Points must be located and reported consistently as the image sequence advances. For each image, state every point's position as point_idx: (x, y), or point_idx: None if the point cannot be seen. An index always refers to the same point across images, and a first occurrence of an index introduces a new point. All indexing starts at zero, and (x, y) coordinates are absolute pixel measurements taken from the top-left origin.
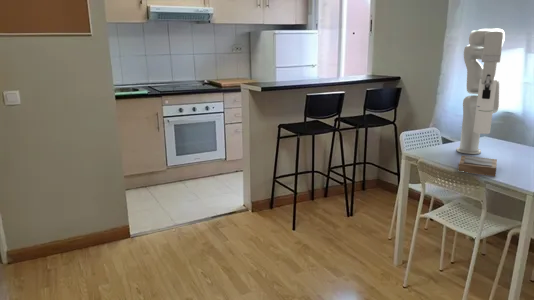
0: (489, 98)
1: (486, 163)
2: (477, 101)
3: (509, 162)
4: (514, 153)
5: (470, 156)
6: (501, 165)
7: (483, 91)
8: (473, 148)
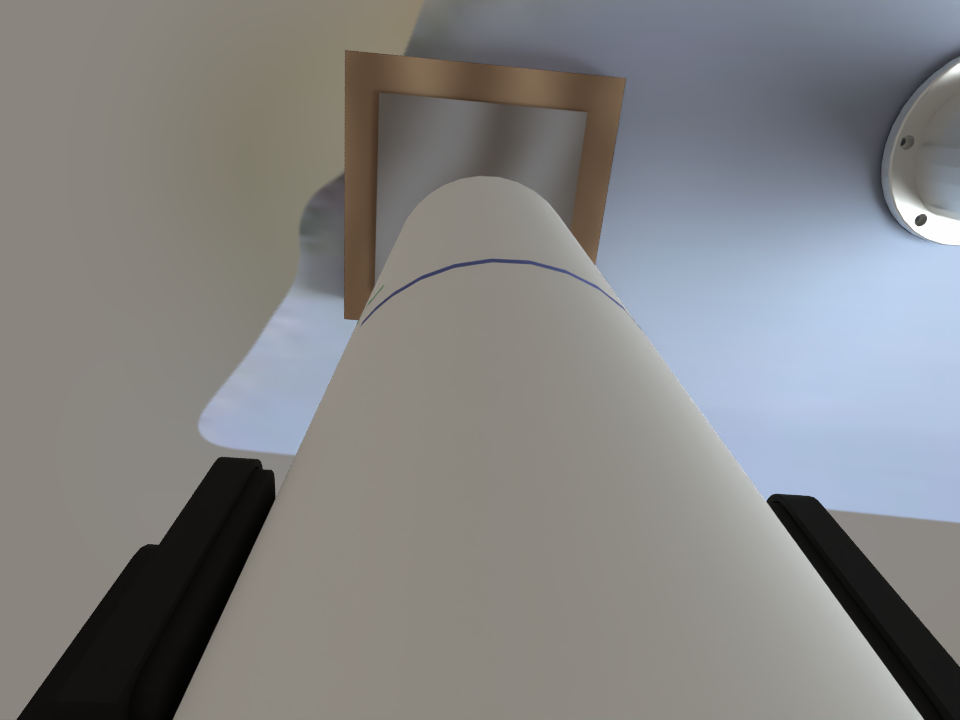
0: None
1: None
2: (446, 302)
3: (708, 401)
4: (938, 446)
5: (610, 153)
6: None
7: (109, 656)
8: (934, 187)
